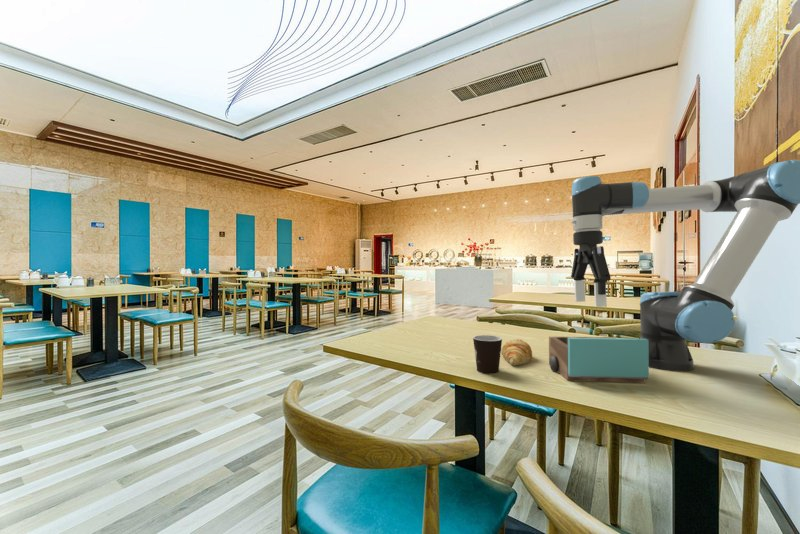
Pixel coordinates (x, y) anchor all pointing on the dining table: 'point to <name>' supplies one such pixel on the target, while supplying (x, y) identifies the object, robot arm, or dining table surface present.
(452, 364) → the dining table surface
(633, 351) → the tailgate
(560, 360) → the cart
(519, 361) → the croissant
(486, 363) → the coffee mug
